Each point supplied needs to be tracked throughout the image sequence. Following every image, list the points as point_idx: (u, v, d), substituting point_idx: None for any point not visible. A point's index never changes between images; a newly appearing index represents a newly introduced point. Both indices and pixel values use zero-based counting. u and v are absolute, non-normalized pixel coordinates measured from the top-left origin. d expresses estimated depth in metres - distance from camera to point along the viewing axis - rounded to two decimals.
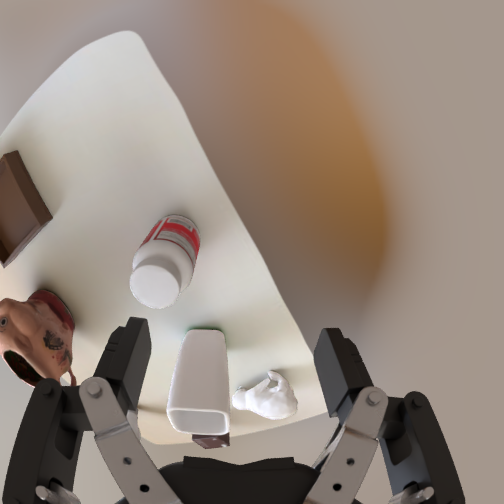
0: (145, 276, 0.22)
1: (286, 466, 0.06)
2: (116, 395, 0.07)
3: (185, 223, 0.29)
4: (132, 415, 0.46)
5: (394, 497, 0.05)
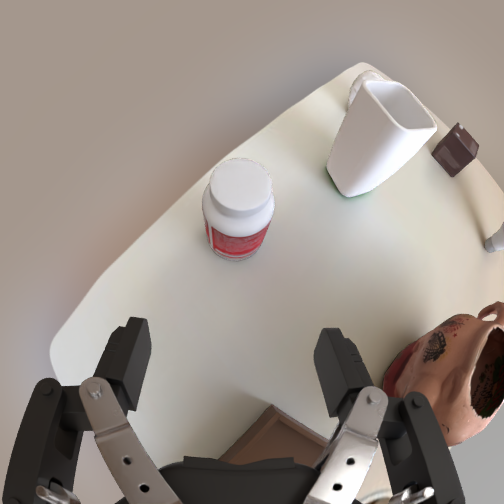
0: (228, 193, 0.19)
1: (286, 466, 0.06)
2: (116, 395, 0.07)
3: None
4: (494, 239, 0.31)
5: (394, 497, 0.05)
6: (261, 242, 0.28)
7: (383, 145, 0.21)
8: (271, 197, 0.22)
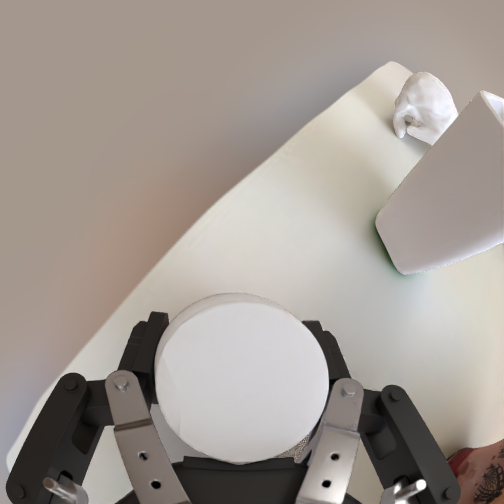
0: (210, 422, 0.06)
1: (286, 466, 0.06)
2: (142, 388, 0.08)
3: None
4: None
5: (386, 492, 0.05)
6: None
7: None
8: None
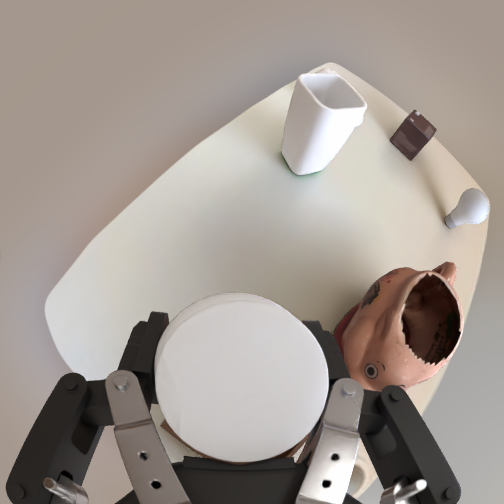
0: (210, 421, 0.06)
1: (286, 466, 0.06)
2: (142, 388, 0.08)
3: None
4: (453, 214, 0.38)
5: (386, 492, 0.05)
6: None
7: (315, 124, 0.28)
8: None
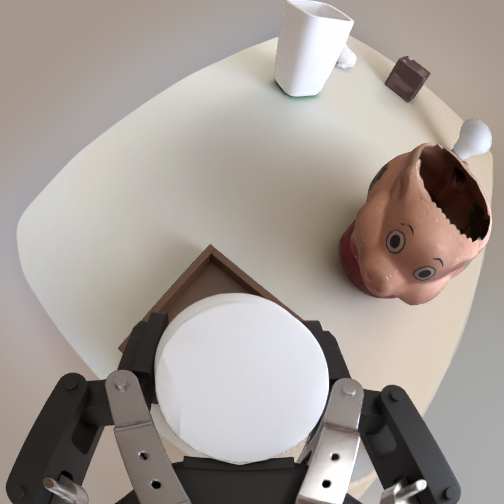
0: (210, 422, 0.06)
1: (286, 466, 0.06)
2: (142, 388, 0.08)
3: None
4: (455, 146, 0.33)
5: (386, 492, 0.05)
6: None
7: (304, 33, 0.23)
8: None
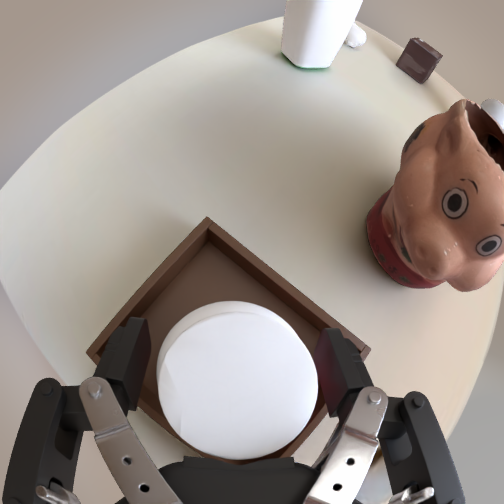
0: (208, 422, 0.06)
1: (286, 466, 0.06)
2: (116, 395, 0.07)
3: None
4: None
5: (394, 497, 0.05)
6: None
7: None
8: None
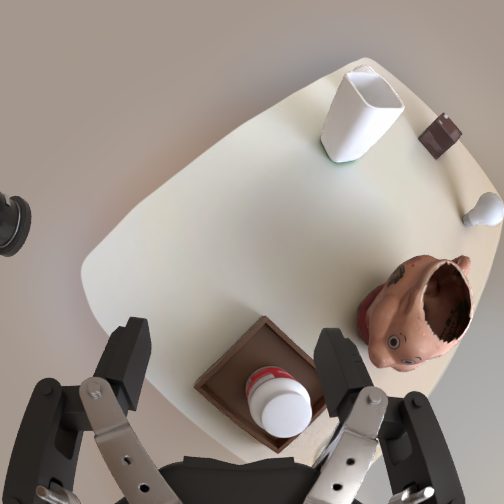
0: (276, 426, 0.20)
1: (286, 466, 0.06)
2: (116, 395, 0.07)
3: (247, 386, 0.29)
4: (470, 214, 0.38)
5: (394, 497, 0.05)
6: None
7: (358, 119, 0.29)
8: None
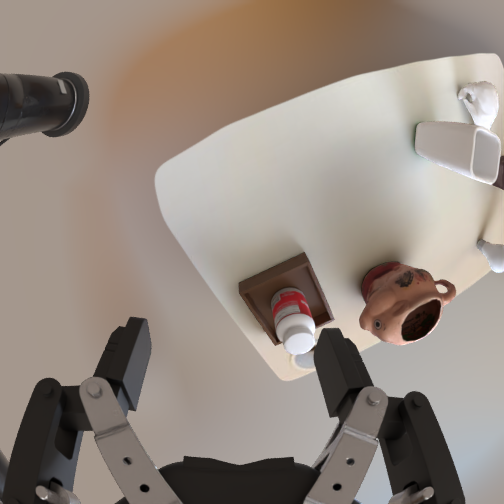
0: (291, 347, 0.38)
1: (286, 466, 0.06)
2: (116, 395, 0.07)
3: (275, 300, 0.45)
4: (485, 245, 0.42)
5: (394, 497, 0.05)
6: None
7: (456, 166, 0.26)
8: None
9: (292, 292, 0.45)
